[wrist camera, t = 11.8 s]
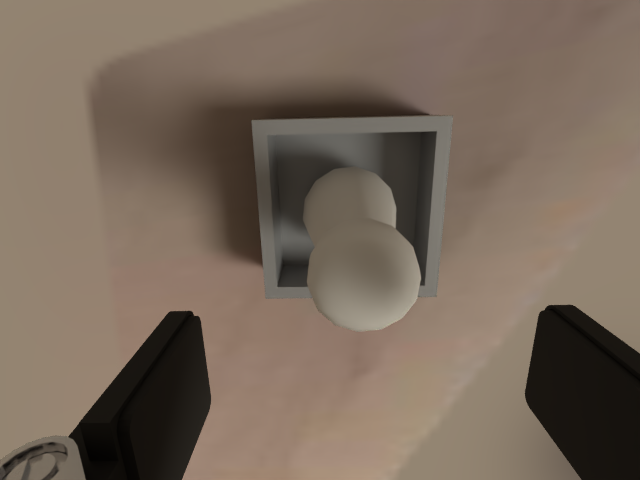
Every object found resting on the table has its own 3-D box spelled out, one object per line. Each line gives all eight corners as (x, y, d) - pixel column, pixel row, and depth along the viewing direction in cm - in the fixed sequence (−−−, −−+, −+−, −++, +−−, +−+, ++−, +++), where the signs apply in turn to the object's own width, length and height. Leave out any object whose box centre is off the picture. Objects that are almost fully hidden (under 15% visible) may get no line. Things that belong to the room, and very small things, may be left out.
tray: (420, 268, 28) (436, 296, 24) (275, 270, 28) (265, 298, 24) (431, 115, 24) (452, 115, 20) (264, 118, 25) (251, 120, 20)
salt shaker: (382, 247, 26) (430, 367, 14) (302, 240, 26) (280, 353, 14) (395, 165, 24) (465, 220, 12) (309, 156, 24) (291, 203, 12)
